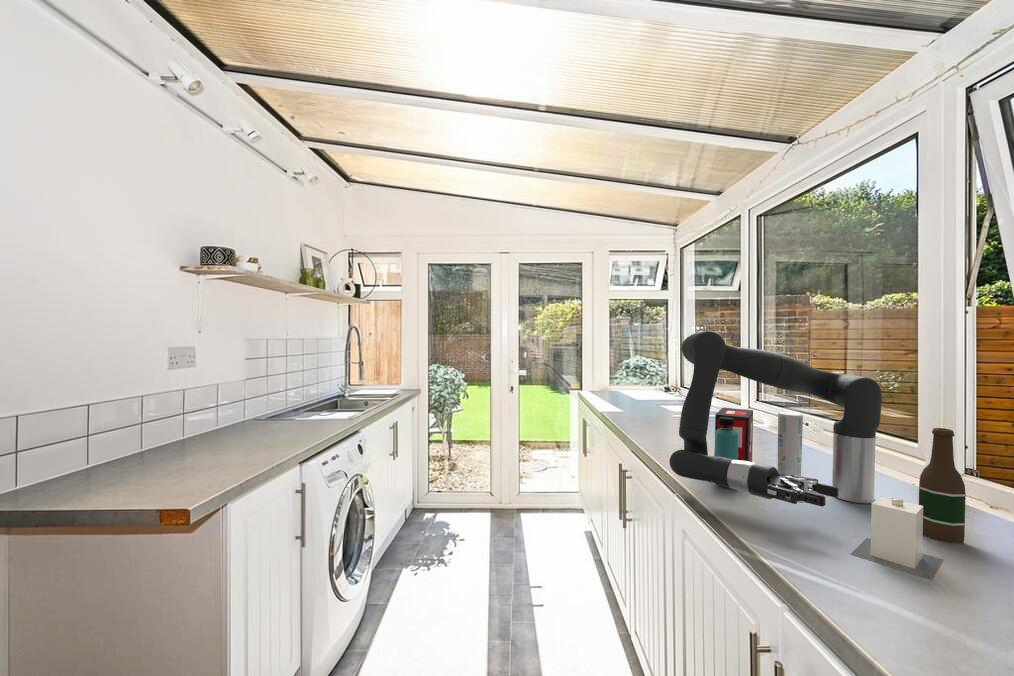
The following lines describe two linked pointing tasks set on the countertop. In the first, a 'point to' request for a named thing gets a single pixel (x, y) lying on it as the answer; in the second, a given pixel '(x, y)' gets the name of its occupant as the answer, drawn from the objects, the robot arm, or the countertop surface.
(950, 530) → the beer bottle
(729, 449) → the beverage bottle
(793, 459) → the spray can
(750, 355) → the robot arm
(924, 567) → the slate coaster
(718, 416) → the cleaning product box
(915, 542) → the knobbed cream block
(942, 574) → the countertop surface
